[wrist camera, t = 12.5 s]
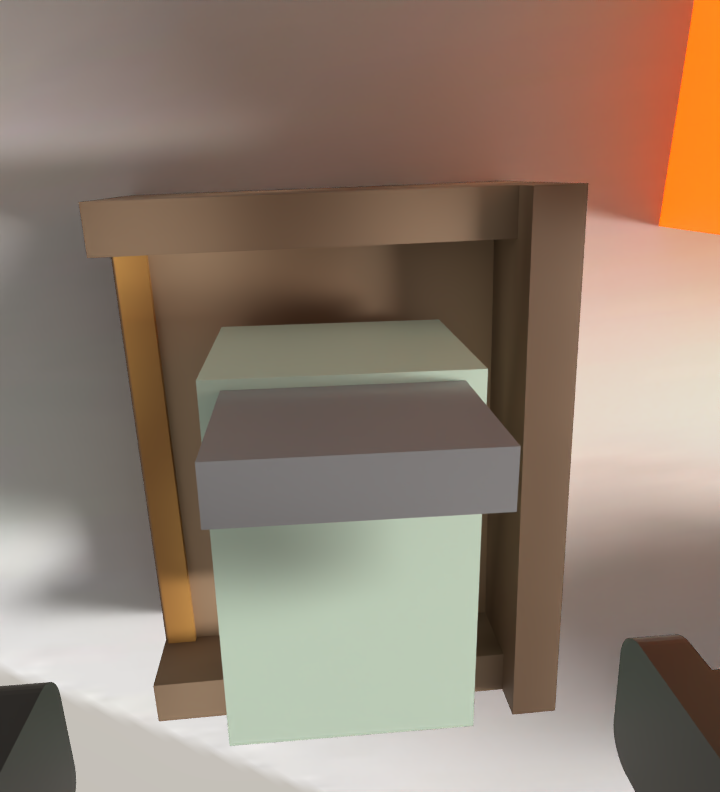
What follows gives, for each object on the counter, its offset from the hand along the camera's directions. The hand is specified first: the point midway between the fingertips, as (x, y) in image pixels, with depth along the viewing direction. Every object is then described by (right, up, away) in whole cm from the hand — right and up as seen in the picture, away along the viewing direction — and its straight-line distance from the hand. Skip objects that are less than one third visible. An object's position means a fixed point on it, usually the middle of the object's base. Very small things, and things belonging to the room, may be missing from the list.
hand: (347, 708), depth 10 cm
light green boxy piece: (-1, +3, +10) cm, 10 cm away
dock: (-1, +4, +12) cm, 13 cm away
